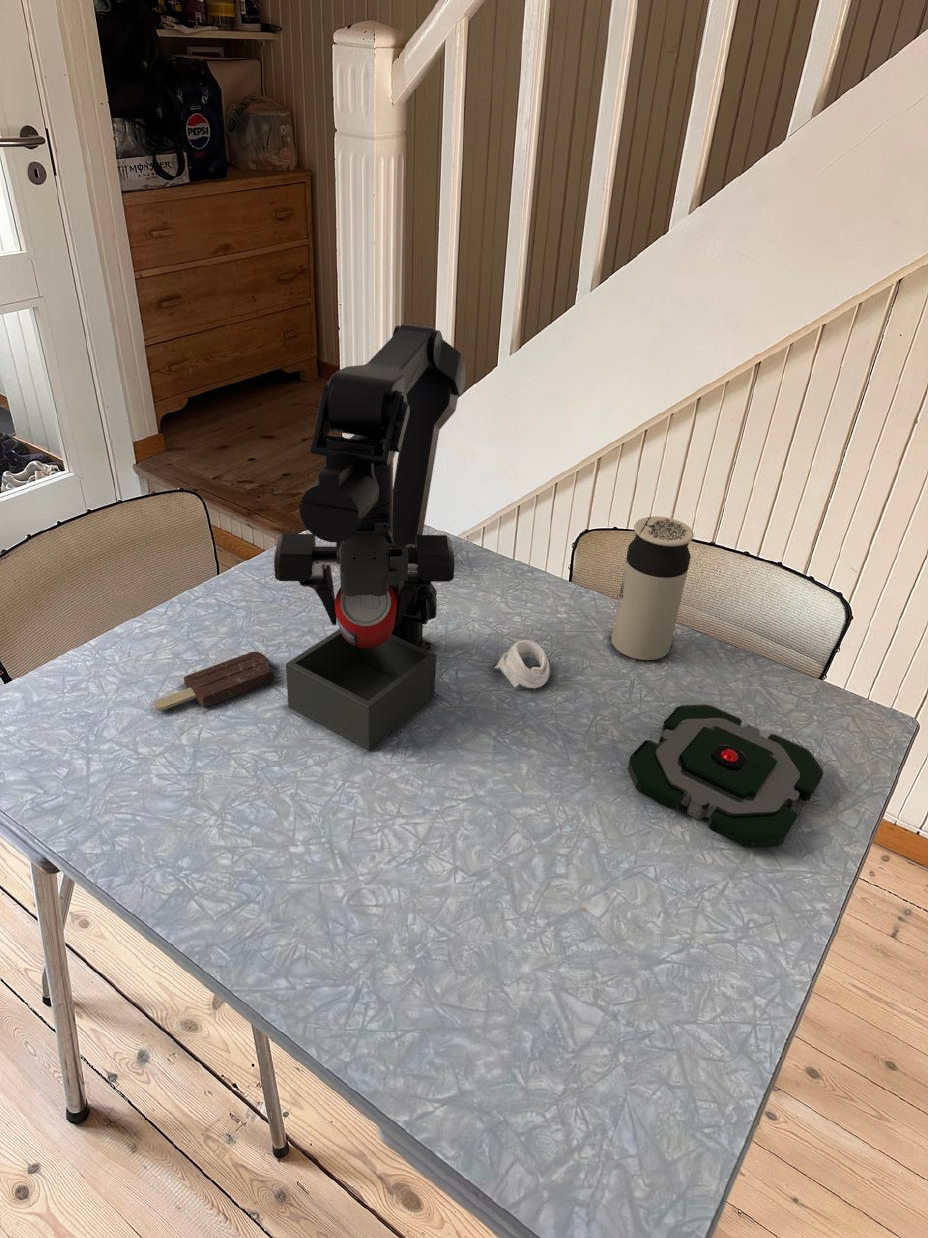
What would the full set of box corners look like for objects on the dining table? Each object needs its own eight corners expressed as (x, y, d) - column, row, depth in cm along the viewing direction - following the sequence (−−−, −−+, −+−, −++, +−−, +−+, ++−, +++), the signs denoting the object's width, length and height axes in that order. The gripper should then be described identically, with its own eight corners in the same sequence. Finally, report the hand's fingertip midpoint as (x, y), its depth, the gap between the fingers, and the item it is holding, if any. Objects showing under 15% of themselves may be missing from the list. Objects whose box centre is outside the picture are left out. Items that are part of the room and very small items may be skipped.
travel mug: (677, 642, 121) (704, 526, 111) (656, 669, 115) (682, 550, 105) (625, 622, 124) (646, 509, 114) (601, 648, 118) (622, 531, 109)
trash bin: (357, 659, 113) (356, 617, 109) (434, 697, 107) (436, 654, 104) (288, 707, 104) (285, 663, 101) (368, 751, 98) (368, 706, 95)
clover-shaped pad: (613, 788, 96) (619, 757, 93) (683, 710, 108) (690, 680, 106) (769, 870, 87) (781, 839, 85) (825, 776, 100) (837, 746, 97)
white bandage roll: (522, 657, 117) (524, 625, 115) (563, 674, 113) (566, 642, 111) (484, 679, 112) (486, 645, 109) (526, 698, 108) (529, 664, 106)
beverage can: (338, 594, 104) (333, 570, 93) (394, 594, 105) (397, 570, 93) (338, 650, 103) (333, 632, 91) (395, 649, 104) (397, 631, 92)
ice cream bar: (164, 724, 100) (280, 679, 109) (162, 713, 99) (279, 668, 108) (146, 701, 103) (259, 658, 112) (144, 690, 103) (258, 648, 111)
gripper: (263, 533, 81) (274, 667, 90) (462, 535, 83) (454, 665, 92) (275, 482, 90) (283, 607, 99) (453, 485, 92) (446, 607, 101)
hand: (365, 622), depth 97 cm, fingers closed on beverage can, 7 cm apart
